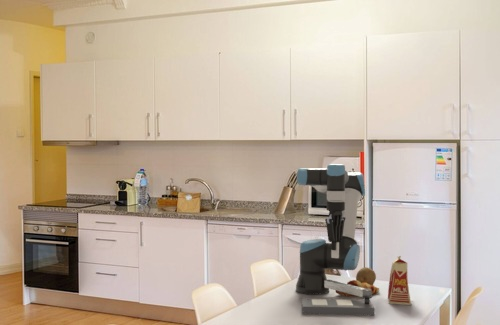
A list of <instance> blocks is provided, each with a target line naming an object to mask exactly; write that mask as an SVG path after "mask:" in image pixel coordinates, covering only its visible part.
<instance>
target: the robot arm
mask: <svg viewBox="0 0 500 325" xmlns="http://www.w3.org/2000/svg"><path fill="white" fill-rule="evenodd" d="M296 172H297V173H296V183H297V185H299V186H304V187H305V186H310V187H312V188H314V190H316V191H317V192H319V193H322V194H326V201H327V202H326V210H327V211H329V212H328V218H325V219H324V220H325V221H324V222H325V223H326V231H327V238H328V239H327V240H328V242H327V241H326V240H325V239H323V238H315V239H308V240H305V241H301V243H300V244H299V247H300V248H299V275H298V278H297V281H296V284H295V291H296V292H297V293H300V294H305V295H324V294H328V293H329V292H330V289H329V288H325V287H324V280H328V279H327V275H326V270H340V271H344V272H345V271H355V270H356V269H357V268H358V264H359V261H360V255H361V246H360V245H359V244H358V242H357V240H356V239H355V235H356V227H357V226H356V225H357V216H358V215H357V214H358V206H359V205H358V204H359V202H360V201H361V200H362V197H364V196H366V189H365V188H366V187H365V179H364V178H365V177H364V174H363V173H362V172H356V171H353V172H349V171H348V172H347V170H346V166H345V164H342V163H341V164H340V163H339V164H338V163H337V164H336V163H331V164H330V163H329V164H328V165H327V166H326V168H314V167H313V168H311V167H309V168H307V167H304V168H303V167H302V168H301V167H300V168H298V169H297V171H296Z"/></svg>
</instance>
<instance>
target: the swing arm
mask: <svg viewBox="0 0 500 325" xmlns="http://www.w3.org/2000/svg"><path fill="white" fill-rule="evenodd" d="M324 287H325V288H329V290H333V291H335V290H337V291H341V292H345V293H348V294H352V295H356V296H360V298H363V299H364V298H367V299H369V298H370V299H372V295H373V294H372V290H371V289H365V288H361V287H357V286H353V285H349V284H347V283H344V282H340V281H337V280H332V279H327V280H324Z"/></svg>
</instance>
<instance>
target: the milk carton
mask: <svg viewBox="0 0 500 325" xmlns="http://www.w3.org/2000/svg"><path fill="white" fill-rule="evenodd" d="M391 263H392V264H391V268H390V274H389V282H388V289H387V290H388V291H387V299H388V304H393V305H405V306H407V305H408V306H412V302H411V297H410V296H411V295H410V289H409V280H408V262H406V261H404V260H402V259H401V255H399V256H397V259H395V260H394V261H393V262H391Z"/></svg>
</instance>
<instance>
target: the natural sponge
mask: <svg viewBox="0 0 500 325" xmlns="http://www.w3.org/2000/svg"><path fill="white" fill-rule="evenodd" d="M376 278H377V273H376V272H375V271H374V270H373V269H372V268H370V267H362V268H360V269H359V270H358V271H357V273H356V276H355V280H357V281H359V282H361V283H364V282H366V283H368V284H370V285H375V281H376Z"/></svg>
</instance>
